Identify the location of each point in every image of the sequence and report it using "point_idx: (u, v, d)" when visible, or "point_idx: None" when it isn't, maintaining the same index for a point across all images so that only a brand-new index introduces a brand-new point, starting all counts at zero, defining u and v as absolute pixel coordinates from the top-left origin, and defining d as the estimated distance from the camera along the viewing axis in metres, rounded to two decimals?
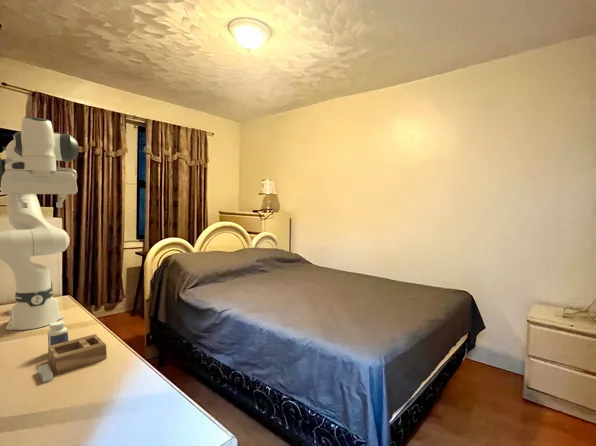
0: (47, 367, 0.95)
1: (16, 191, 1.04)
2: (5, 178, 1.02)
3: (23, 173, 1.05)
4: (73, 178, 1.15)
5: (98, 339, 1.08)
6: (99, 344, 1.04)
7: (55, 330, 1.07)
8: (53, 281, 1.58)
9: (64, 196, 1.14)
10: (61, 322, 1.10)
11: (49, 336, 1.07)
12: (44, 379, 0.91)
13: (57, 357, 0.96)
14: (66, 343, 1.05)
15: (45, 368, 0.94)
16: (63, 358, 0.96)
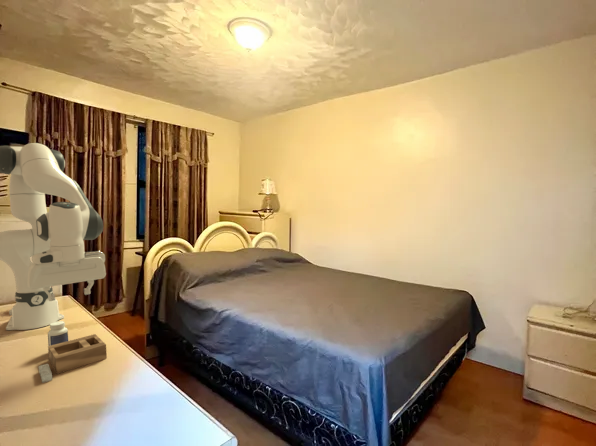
0: (47, 367, 0.95)
1: (44, 285, 0.98)
2: (33, 273, 0.95)
3: (51, 266, 0.98)
4: (101, 262, 1.09)
5: (98, 339, 1.08)
6: (99, 344, 1.04)
7: (55, 330, 1.07)
8: None
9: (92, 282, 1.08)
10: (61, 322, 1.10)
11: (49, 336, 1.07)
12: (43, 379, 0.91)
13: (57, 357, 0.96)
14: (66, 343, 1.05)
15: (45, 368, 0.94)
16: (63, 358, 0.96)
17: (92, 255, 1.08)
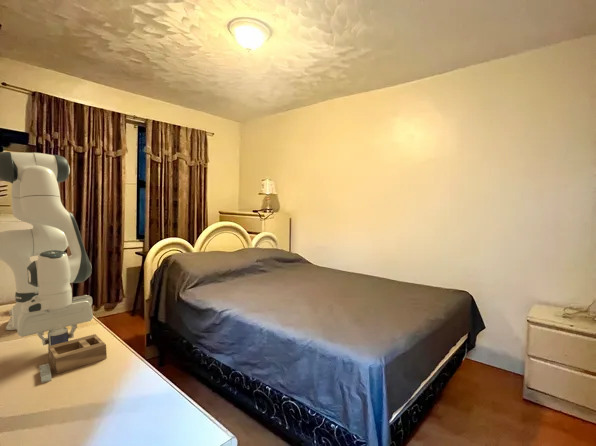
0: (47, 367, 0.95)
1: (32, 332, 1.03)
2: (22, 322, 1.01)
3: (39, 313, 1.03)
4: (89, 306, 1.14)
5: (98, 339, 1.08)
6: (99, 344, 1.04)
7: (55, 330, 1.07)
8: None
9: (75, 326, 1.12)
10: None
11: (49, 336, 1.07)
12: (42, 379, 0.91)
13: (57, 357, 0.96)
14: (66, 343, 1.05)
15: (46, 368, 0.94)
16: (63, 358, 0.96)
17: (79, 299, 1.13)
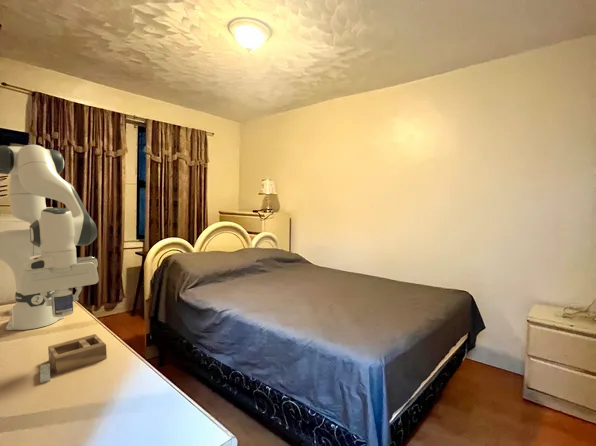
0: (48, 367, 0.95)
1: (35, 291, 0.98)
2: (24, 279, 0.95)
3: (43, 271, 0.98)
4: (94, 267, 1.08)
5: (98, 339, 1.08)
6: (99, 344, 1.04)
7: (59, 291, 1.02)
8: None
9: (80, 288, 1.06)
10: None
11: (53, 297, 1.01)
12: (41, 380, 0.90)
13: (57, 357, 0.96)
14: (66, 343, 1.05)
15: (46, 368, 0.94)
16: (63, 358, 0.96)
17: (84, 260, 1.08)
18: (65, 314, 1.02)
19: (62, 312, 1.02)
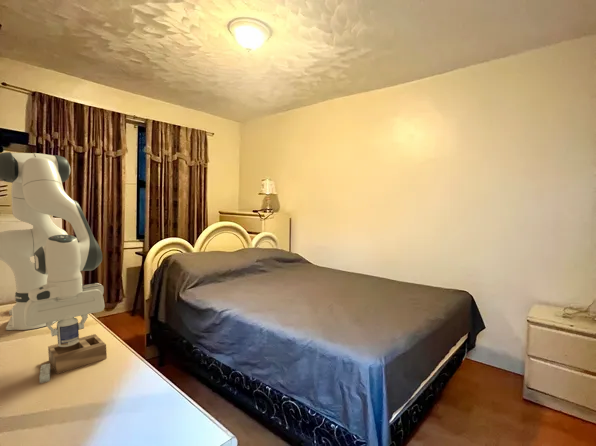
0: (48, 367, 0.95)
1: (41, 322, 0.96)
2: (29, 311, 0.93)
3: (48, 302, 0.96)
4: (100, 295, 1.06)
5: (98, 339, 1.08)
6: (99, 344, 1.04)
7: (65, 320, 1.00)
8: None
9: (86, 316, 1.04)
10: None
11: (58, 327, 0.99)
12: (41, 380, 0.90)
13: (57, 357, 0.96)
14: None
15: (46, 368, 0.94)
16: (63, 358, 0.96)
17: (90, 288, 1.06)
18: (71, 344, 1.00)
19: (68, 342, 1.00)
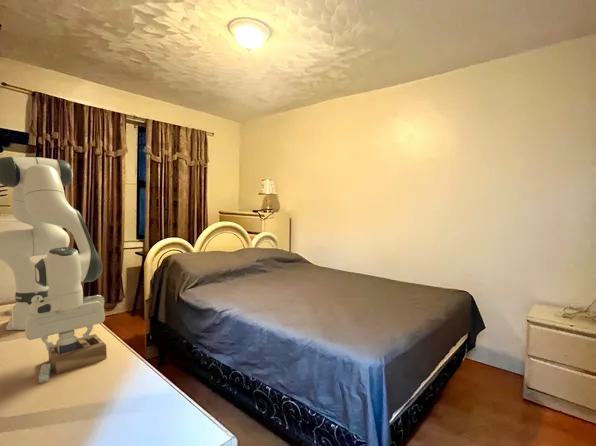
0: (48, 367, 0.95)
1: (41, 335, 0.96)
2: (30, 324, 0.93)
3: (49, 315, 0.96)
4: (100, 306, 1.07)
5: (98, 339, 1.08)
6: (99, 344, 1.04)
7: (64, 339, 1.00)
8: None
9: (91, 327, 1.06)
10: (70, 330, 1.02)
11: (58, 346, 0.99)
12: (40, 380, 0.90)
13: (57, 357, 0.96)
14: None
15: (46, 368, 0.94)
16: (63, 358, 0.96)
17: (91, 300, 1.06)
18: None
19: None
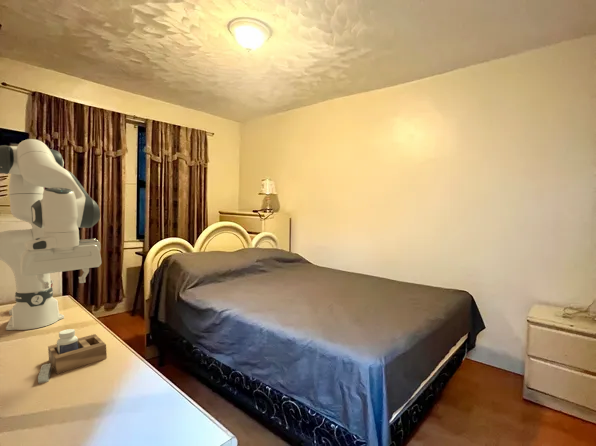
0: (48, 367, 0.95)
1: (37, 272, 0.95)
2: (25, 260, 0.93)
3: (45, 252, 0.96)
4: (97, 250, 1.06)
5: (98, 339, 1.08)
6: (99, 344, 1.04)
7: (65, 339, 1.00)
8: (53, 281, 1.58)
9: (87, 270, 1.05)
10: (71, 330, 1.02)
11: (58, 345, 1.00)
12: (39, 380, 0.90)
13: (57, 357, 0.96)
14: None
15: (46, 368, 0.94)
16: (63, 358, 0.96)
17: (87, 243, 1.05)
18: None
19: None
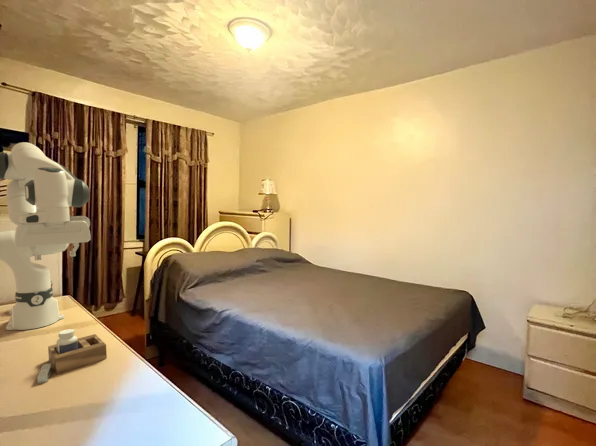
0: (48, 367, 0.95)
1: (30, 244, 1.03)
2: (19, 232, 1.01)
3: (37, 226, 1.04)
4: (86, 226, 1.14)
5: (98, 339, 1.08)
6: (99, 344, 1.04)
7: (64, 339, 1.00)
8: (53, 281, 1.58)
9: (77, 245, 1.13)
10: (70, 330, 1.02)
11: (58, 345, 1.00)
12: (39, 380, 0.90)
13: (57, 357, 0.96)
14: None
15: (46, 368, 0.94)
16: (63, 358, 0.96)
17: (77, 219, 1.13)
18: None
19: None
